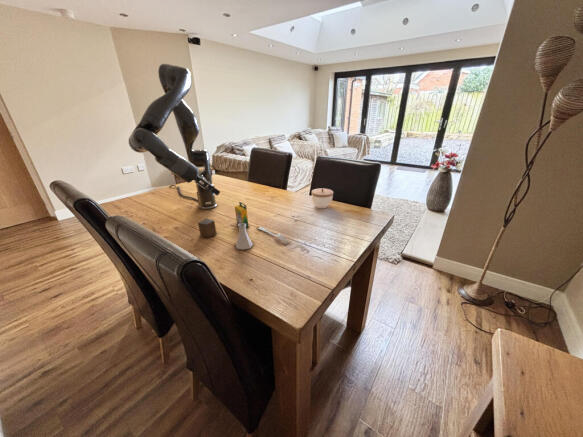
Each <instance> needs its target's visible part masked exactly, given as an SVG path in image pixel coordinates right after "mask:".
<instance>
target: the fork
mask: <svg viewBox="0 0 583 437" xmlns="http://www.w3.org/2000/svg"><path fill="white" fill-rule="evenodd" d="M257 229H258V230H259V231H263V232H265V233H267V234H269V235H271V236H274V237H277V238H278V239H280V240H281V242H283V243H284V244H285V245H288V244H290V242H289V241H288V240H287V238H286V237H285V236H284V235H283V234H282V233H278V234H275V233H272V232H271V231H269V230H268V229H266V228H265V227H263V226H259V227H258V228H257Z"/></svg>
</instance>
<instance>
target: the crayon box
mask: <svg viewBox="0 0 583 437" xmlns="http://www.w3.org/2000/svg"><path fill="white" fill-rule="evenodd" d="M238 203H239V204H238V205H234V212H235V219H236V220H235V221H236V224H237V226H238V225H239V224H240V223H245V224H246V226H245V227H246V229H247V228H249V218H248V210H247V208H248V207H247V204H245V203H243V202H241V201H238Z"/></svg>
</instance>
